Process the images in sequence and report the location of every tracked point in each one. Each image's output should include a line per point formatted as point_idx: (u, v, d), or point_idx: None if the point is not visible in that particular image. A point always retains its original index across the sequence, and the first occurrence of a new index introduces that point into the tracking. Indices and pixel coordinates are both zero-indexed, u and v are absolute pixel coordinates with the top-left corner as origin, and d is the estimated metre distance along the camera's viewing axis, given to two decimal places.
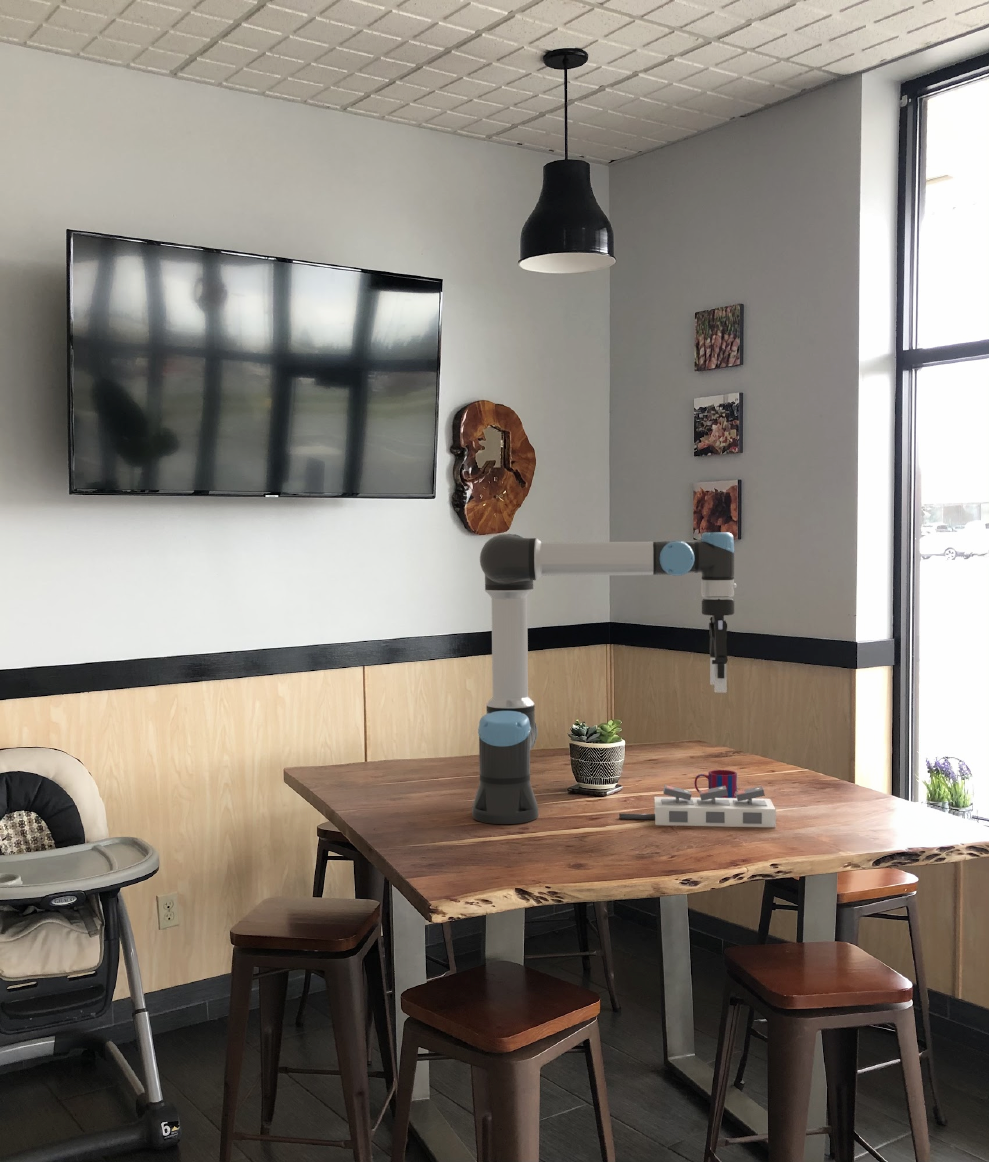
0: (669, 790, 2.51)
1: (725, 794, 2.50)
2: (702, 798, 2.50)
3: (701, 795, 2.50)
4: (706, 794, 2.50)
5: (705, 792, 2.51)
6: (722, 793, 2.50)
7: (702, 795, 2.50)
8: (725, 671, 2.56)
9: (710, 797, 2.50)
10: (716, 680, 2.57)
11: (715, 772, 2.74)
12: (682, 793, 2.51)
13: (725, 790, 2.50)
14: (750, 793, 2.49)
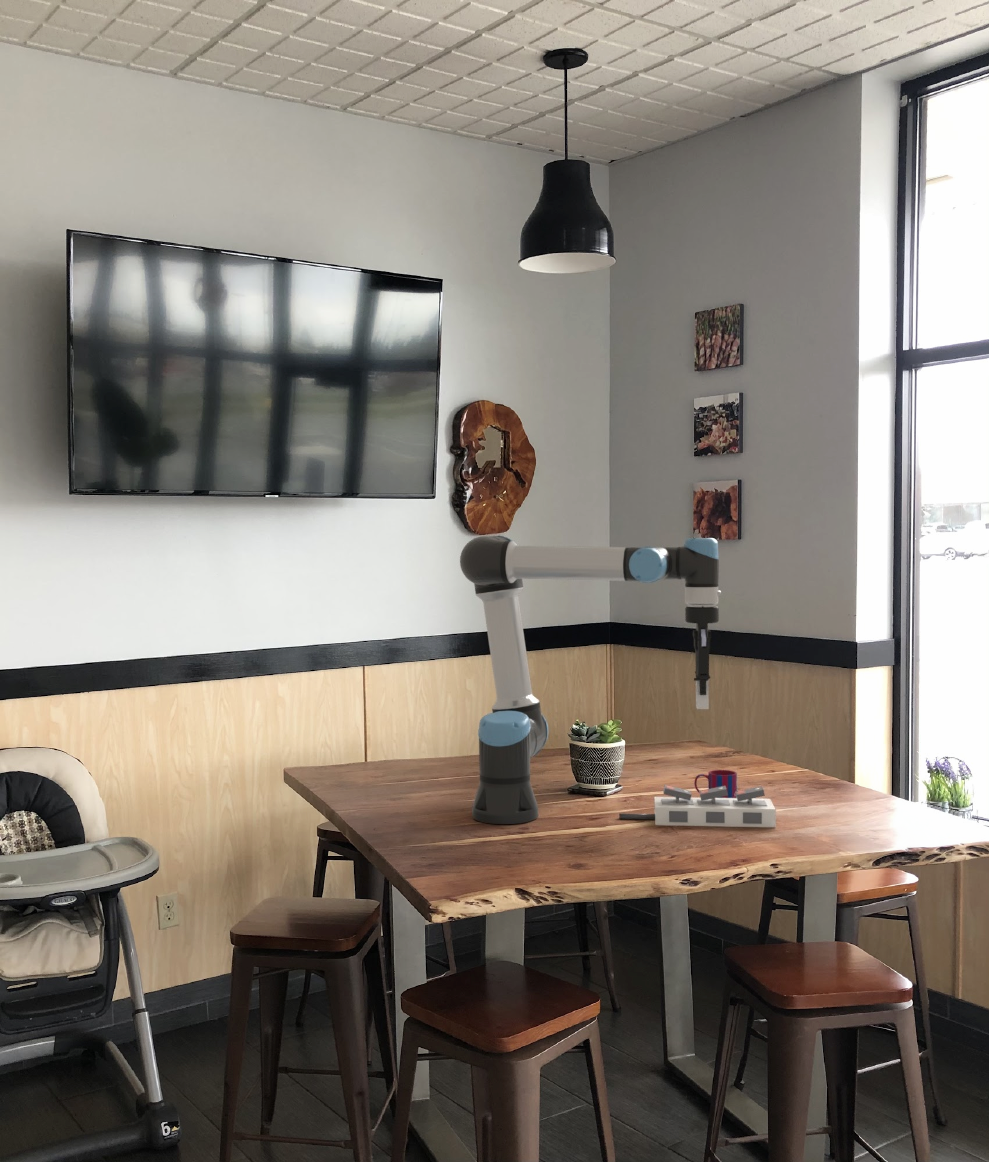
0: (669, 790, 2.51)
1: (725, 794, 2.50)
2: (702, 798, 2.50)
3: (701, 795, 2.50)
4: (706, 794, 2.50)
5: (705, 792, 2.51)
6: (722, 793, 2.50)
7: (702, 795, 2.50)
8: (707, 688, 2.55)
9: (710, 797, 2.50)
10: (698, 696, 2.56)
11: (715, 772, 2.74)
12: (682, 793, 2.51)
13: (725, 790, 2.50)
14: (750, 793, 2.49)
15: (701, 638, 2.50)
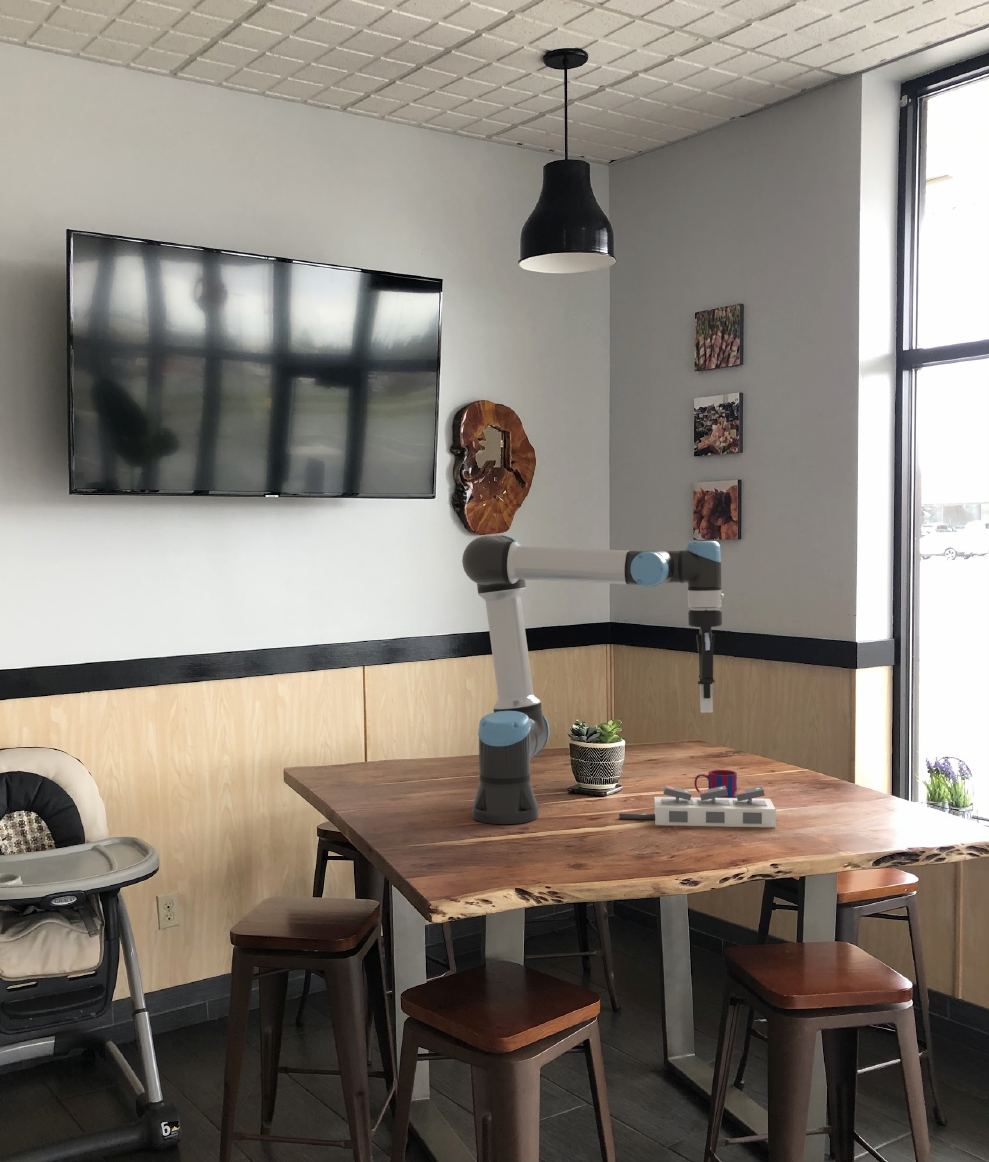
0: (669, 790, 2.51)
1: (725, 794, 2.50)
2: (702, 798, 2.50)
3: (701, 795, 2.50)
4: (706, 794, 2.50)
5: (705, 792, 2.51)
6: (722, 793, 2.50)
7: (702, 795, 2.50)
8: (711, 691, 2.55)
9: (710, 797, 2.50)
10: (702, 700, 2.56)
11: (715, 772, 2.74)
12: (682, 793, 2.51)
13: (725, 790, 2.50)
14: (750, 793, 2.49)
15: (705, 642, 2.50)
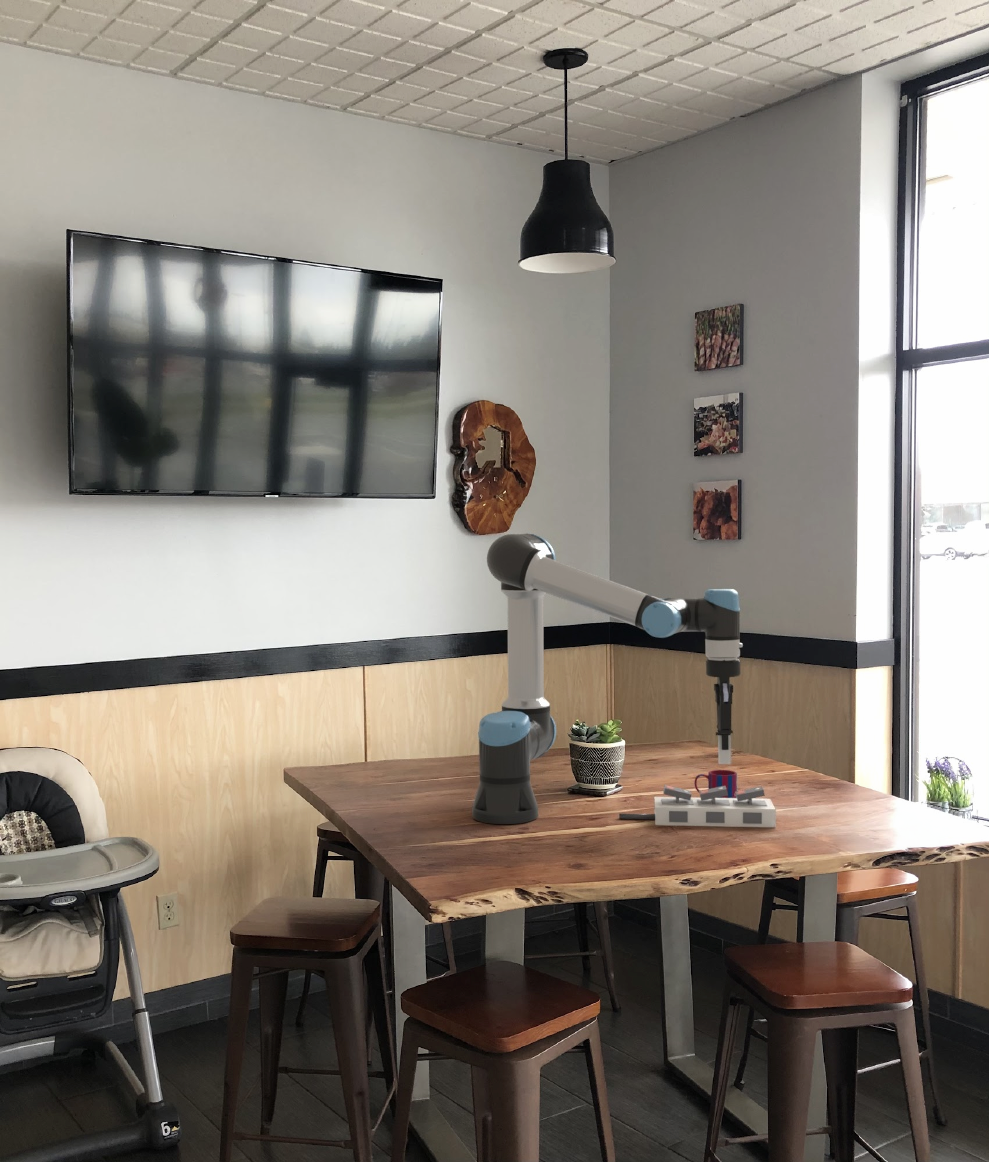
0: (669, 790, 2.51)
1: (725, 794, 2.50)
2: (702, 798, 2.50)
3: (701, 795, 2.50)
4: (706, 794, 2.50)
5: (705, 792, 2.51)
6: (722, 793, 2.50)
7: (702, 795, 2.50)
8: (729, 742, 2.50)
9: (710, 797, 2.50)
10: (720, 751, 2.50)
11: (715, 772, 2.74)
12: (682, 793, 2.51)
13: (725, 790, 2.50)
14: (750, 793, 2.49)
15: (723, 694, 2.44)
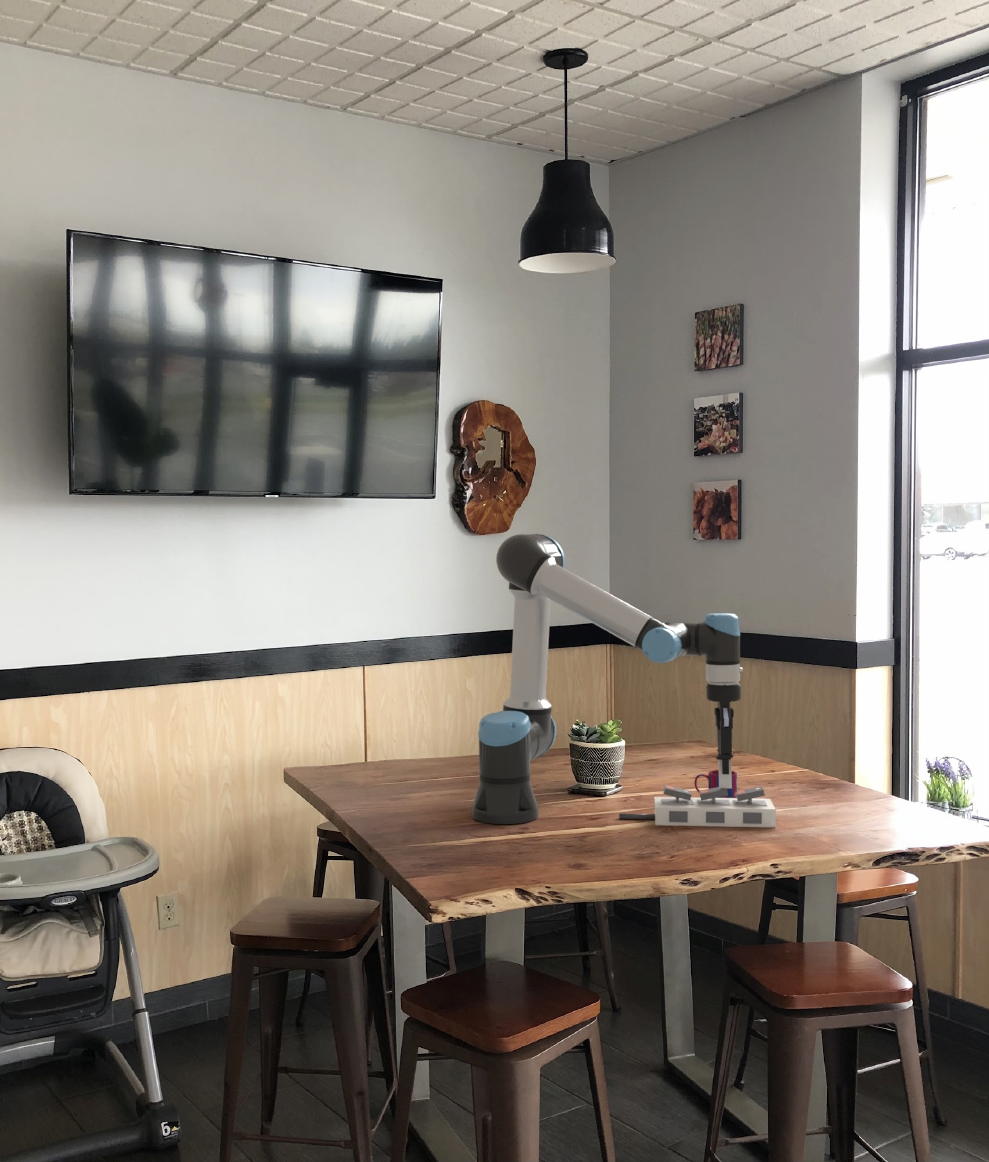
0: (669, 790, 2.51)
1: (725, 794, 2.50)
2: (702, 798, 2.50)
3: (701, 795, 2.50)
4: (706, 794, 2.50)
5: (705, 792, 2.51)
6: (722, 793, 2.50)
7: (702, 795, 2.50)
8: (730, 766, 2.50)
9: (710, 797, 2.50)
10: (720, 775, 2.51)
11: (715, 772, 2.74)
12: (682, 793, 2.51)
13: (725, 790, 2.50)
14: (750, 793, 2.49)
15: (723, 719, 2.45)
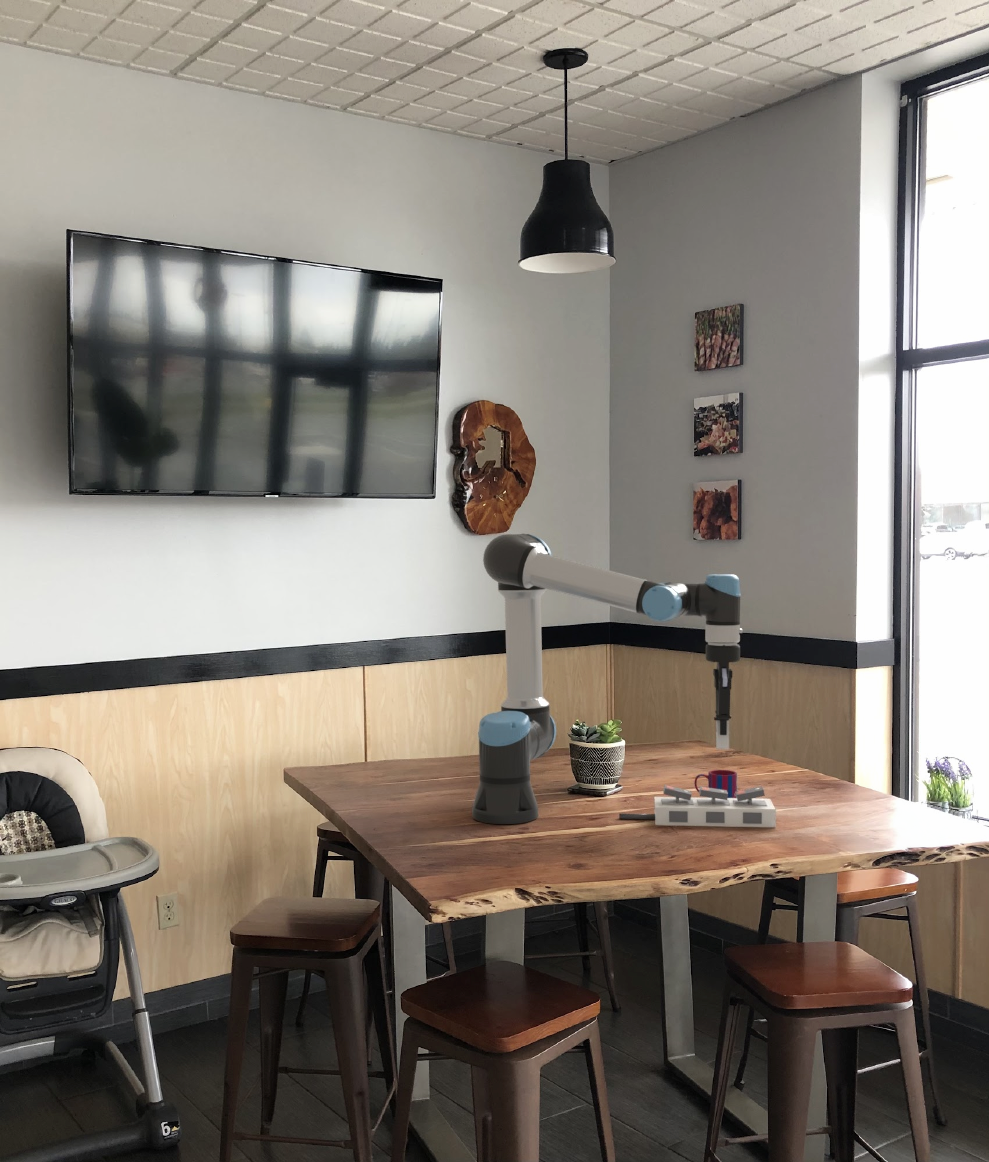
0: (669, 790, 2.51)
1: (725, 798, 2.50)
2: (701, 794, 2.50)
3: (702, 791, 2.50)
4: (707, 791, 2.50)
5: (706, 789, 2.51)
6: (723, 796, 2.50)
7: (702, 791, 2.50)
8: (727, 727, 2.50)
9: (709, 796, 2.50)
10: (718, 736, 2.50)
11: (715, 772, 2.74)
12: (682, 793, 2.51)
13: (726, 794, 2.50)
14: (750, 793, 2.49)
15: (722, 679, 2.44)
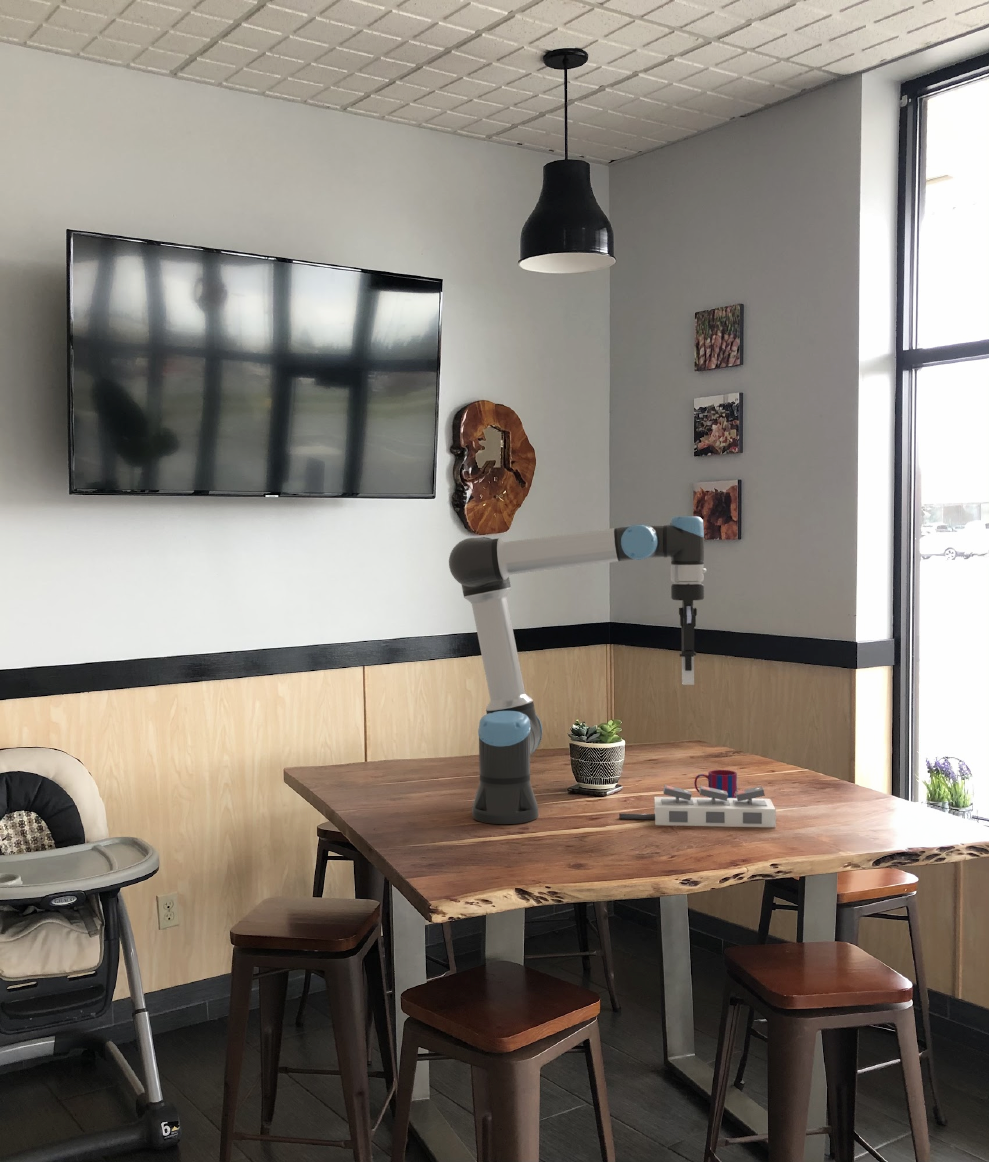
0: (669, 790, 2.51)
1: (724, 799, 2.50)
2: (701, 793, 2.50)
3: (702, 790, 2.50)
4: (707, 791, 2.50)
5: (706, 789, 2.51)
6: (722, 796, 2.50)
7: (703, 790, 2.50)
8: (692, 664, 2.60)
9: (709, 795, 2.50)
10: (683, 672, 2.61)
11: (715, 772, 2.74)
12: (682, 793, 2.51)
13: (726, 795, 2.50)
14: (750, 793, 2.49)
15: (686, 615, 2.55)
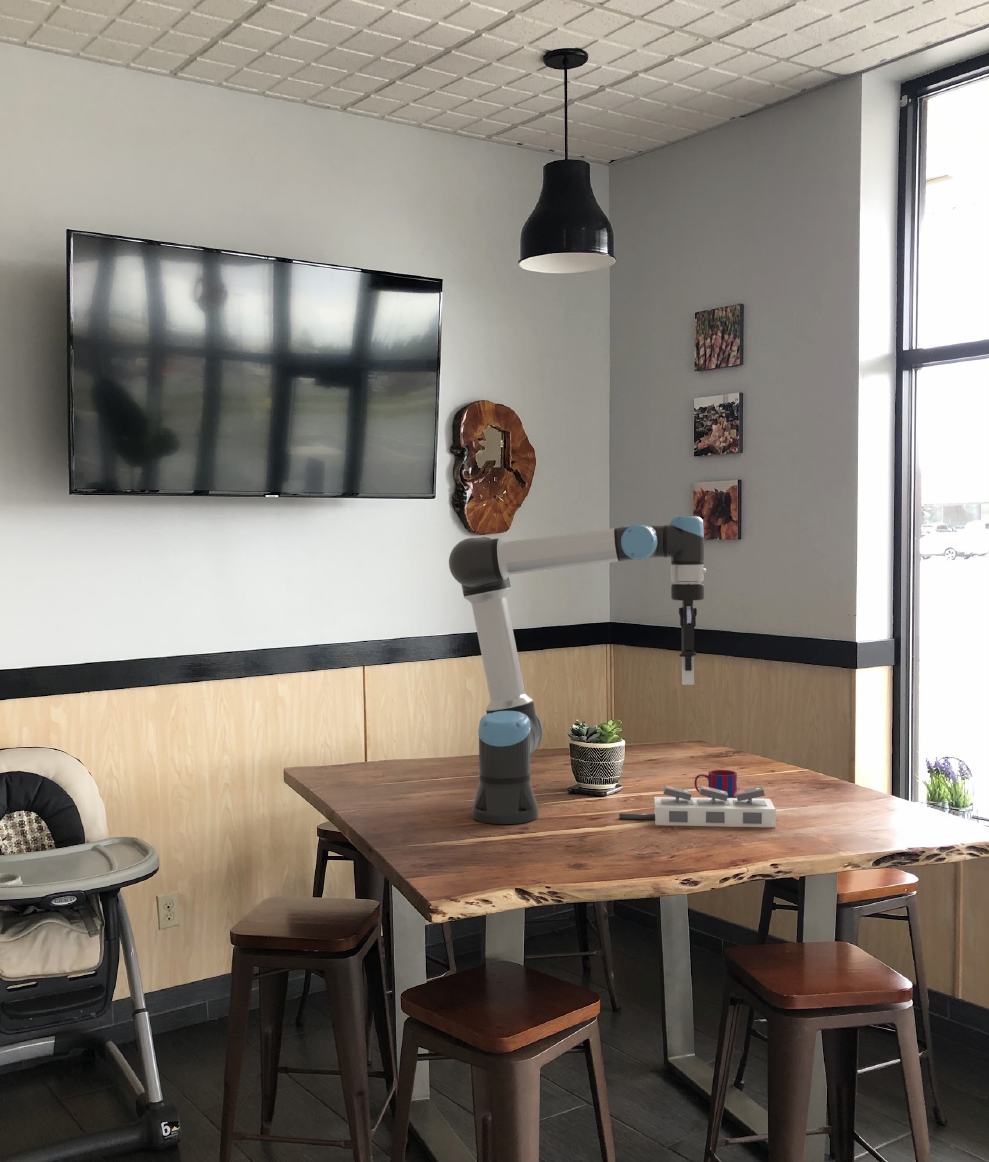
0: (669, 790, 2.51)
1: (724, 799, 2.50)
2: (701, 793, 2.50)
3: (702, 790, 2.50)
4: (707, 791, 2.50)
5: (706, 789, 2.51)
6: (722, 797, 2.50)
7: (703, 790, 2.50)
8: (692, 663, 2.60)
9: (709, 795, 2.50)
10: (683, 672, 2.61)
11: (715, 772, 2.74)
12: (682, 793, 2.51)
13: (726, 795, 2.50)
14: (750, 793, 2.49)
15: (686, 615, 2.55)
